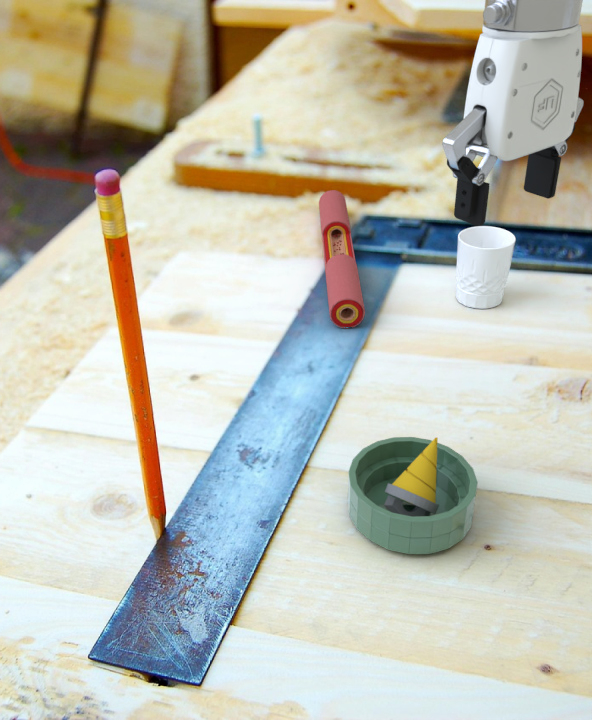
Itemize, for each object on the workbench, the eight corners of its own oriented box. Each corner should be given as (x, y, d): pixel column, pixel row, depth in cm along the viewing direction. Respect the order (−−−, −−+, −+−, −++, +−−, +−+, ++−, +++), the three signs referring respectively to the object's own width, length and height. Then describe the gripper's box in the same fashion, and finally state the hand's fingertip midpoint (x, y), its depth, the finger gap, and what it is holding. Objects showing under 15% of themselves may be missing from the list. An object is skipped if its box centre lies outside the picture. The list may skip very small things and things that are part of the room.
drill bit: (368, 514, 79) (405, 426, 80) (414, 535, 79) (451, 446, 80) (381, 522, 74) (421, 427, 74) (431, 544, 74) (470, 449, 75)
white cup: (472, 281, 120) (479, 221, 114) (517, 297, 114) (526, 236, 109) (440, 298, 116) (446, 237, 110) (485, 317, 110) (494, 253, 105)
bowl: (409, 457, 86) (412, 422, 83) (498, 520, 77) (504, 483, 74) (323, 504, 81) (323, 469, 78) (408, 578, 72) (411, 541, 69)
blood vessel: (364, 328, 110) (365, 298, 107) (329, 329, 110) (329, 299, 108) (345, 214, 145) (345, 189, 142) (318, 215, 145) (318, 190, 142)
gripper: (496, 34, 57) (472, 246, 66) (636, 0, 64) (597, 195, 73) (422, 23, 62) (409, 220, 71) (560, -7, 70) (531, 175, 79)
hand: (504, 207), depth 72 cm, fingers open, 9 cm apart
